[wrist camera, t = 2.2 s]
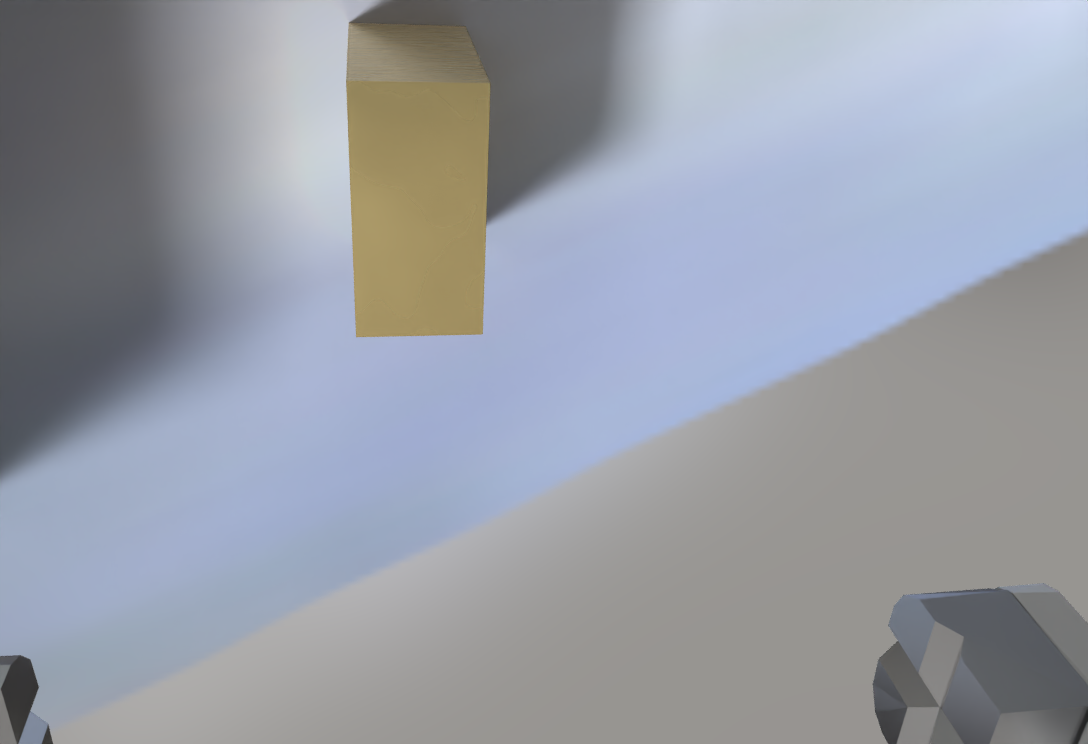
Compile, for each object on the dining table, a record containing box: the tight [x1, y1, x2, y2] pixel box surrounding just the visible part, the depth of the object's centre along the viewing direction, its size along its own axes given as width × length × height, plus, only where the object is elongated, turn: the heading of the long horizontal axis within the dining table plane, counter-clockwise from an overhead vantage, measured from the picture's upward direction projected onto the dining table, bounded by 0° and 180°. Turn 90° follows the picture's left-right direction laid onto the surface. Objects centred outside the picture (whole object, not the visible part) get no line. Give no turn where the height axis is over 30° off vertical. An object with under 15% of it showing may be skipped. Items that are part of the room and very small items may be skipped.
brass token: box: [346, 23, 490, 337], centre depth 21 cm, size 5×2×5 cm, turn 177°
